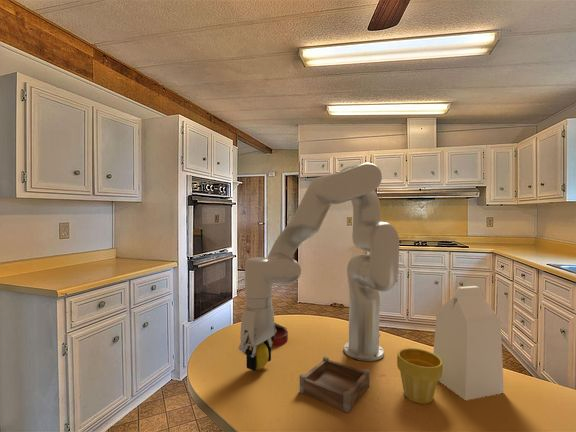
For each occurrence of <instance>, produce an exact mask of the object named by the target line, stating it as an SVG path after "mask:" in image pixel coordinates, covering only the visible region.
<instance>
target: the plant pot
mask: <svg viewBox="0 0 576 432" xmlns="http://www.w3.org/2000/svg"><path fill="white" fill-rule="evenodd" d="M396 363H397V364H396V365H397V369H398V370H399V372H400V377H401V384H402V390H403V394H404V395H405V397H406V398H407V399H408V400H410V401H413V402H414V403H418V404H429V403H431V402H432V401H433V400H434V397H435V392H436V388H437V385H438V382H439V381H438V379H440V378H441V376H442V368H443V362H442V360H441V359H440V358H439V357H438V356H437V355H435V354H433V352H432V351H429V350H426V349H421V348H416V347H407V348H406V347H405V348H402V349H400V350H399V351H398V352H397V357H396Z"/></svg>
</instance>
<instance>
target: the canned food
mask: <svg viewBox="0 0 576 432" xmlns="http://www.w3.org/2000/svg"><path fill="white" fill-rule="evenodd" d="M274 327H275V328H276V330H277V331H276V333H275V335H274V339H273V341H272V347H279V346H282V345H283V346H284V345H285V344H287V343H288V341H289V340H288V339H289V338H288V337H289V336H288V335H289V331H288V328H287V327H285V326H283V325H281V324H278V323H276V322H274Z"/></svg>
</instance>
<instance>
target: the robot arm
mask: <svg viewBox="0 0 576 432" xmlns="http://www.w3.org/2000/svg"><path fill="white" fill-rule="evenodd" d="M382 179H383V174H382V171H381V169H380V168H379V166H378V165H376V164H374V163H372V162H365V163H359V164H354V165H349V166H347V167H343V168H342V169H341V170H339V172H338V171H337V172H336V173H332V174H331V173H330V174H328V175H322V176H318V177H316V178H314V179H312V181H311V182H310V183H309V185H308V187H307V189H306V191H305V193H304V194H303V197H302V199H301V201H300V203H299V205H298V207H297V209H296V211H295V213H294V214H293V217H292V219H291V220H290V221H289V222H288V224H286V226H285V228H284V229H283V230H282V232H281V233H280V234H279V235H278V236H277V238H276V240H275V241H274V243H273V245H272V247H271V249H270V251H269V253H268V256H267V257H262V256H257V257H256V256H255V257H249V258H247V259H246V261H245V263H244V292H245V293H244V294H245V295H244V303H245V307H244V308H243V310H242V315H241V320H240V321H241V322H240V343H239V345H238V350H240V351H241V352H242V353H243V354H244V355H245V356H246V368H247V369H248V370H251V371H253V372H255V371H257V370H258V369H257V360H256V356H255V352H256V347H257V345H258V344H260V343H264V344H265V345H266V346H267V348H268V352H269V358H268V362H271V361H272V348H273V346H272V341H273V339H274V335H275V333H276V331H277V330H276V328H275V327H274V323H275V313H274V307H273V298H272V297H273V292H272V291H273V289H272V288H273V284H278V285H279V284H281V285H289V284H293V283H295V282H297V280H299V278H300V277H301V273H302V269H301V266H300V264H299V262H298V261H297V260H296V259H294V258H293V257H294V254H295V252H296V251H297V249H298V247H300V245H301V244H303V242H305V241H306V240H308V239H310V238H312V237H313V236H314V235H316V234H317V233H318V231H320V228H321V226H322V224H323V222H324V220H325V218H326V216H327V214H328V212H329V210H330V208H331V206H332V205H339V204H343V203H346V202H349V201H351V204H352V233H351V234H352V236H351V237H352V242H353V245H354V246H355V247H356V248H358V249H360V250H362V251H366V252H369V254H366V253H359V254H356V255H354V256H352V257H351V258H350V259H349V261H348V263H347V267H346V274H347V282H348V290H349V291H348V292H349V300H348V301H349V304H348V305H349V306H348V341H347V342H346V343H345V344H343V351H344V353H345V354H346V355H347V356H348V357H350V358H351V359H354V360H359V361H362V362H363V361H364V362H373V361H374V362H375V361H379V360H381V359H382V358H383V357H384V356H385V350H384V348H383V347H382V346H380V337H381V334H380V314H381V313H380V310H381V309H380V306H381V300H380V299H381V297H380V292H387V291H390V290H392V289H393V288H394V287H395V285H396V283H397V281H398V278H399V277H398V276H399V266H400V265H399V263H400V237H399V233H398V231H397V230H396V228H395V227H394V226H393V225H392V223H389V222H386V221H385V222H384V221H381V219H382V217H381V202H380V199H379V196H378V194H377V192H376V190H377V189H378V188H379V186H380V185H381V183H382ZM251 347H252V351H251V350H250V349H251Z"/></svg>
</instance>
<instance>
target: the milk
mask: <svg viewBox="0 0 576 432" xmlns="http://www.w3.org/2000/svg"><path fill="white" fill-rule="evenodd" d="M501 324H502V322H501V320H500V317H499V315H498V314H497V313H496V312H495V311H494V309H493V308H492V307H491V305H490V304H489V303H488V302H487V300H485V298H484V297H483V294H482V291H481V287H480V286H477V285H468V286H457V288H456V290H455V292H454V295H453V297H451V299H449V300H448V301H447V302H445V303H444V304H443V305H441V306H439V308H438V309H437V310H436V316H435V329H434V342H433V352H432V353H433V354H435V355H437V356H438V357H439V358H440V359H441V360H442V362H443V368H442V376H441V378H440V379H438V382H439V383H440V384H442V385H443V384H444V385H443V386H445V387H446V386H447V387H446V388H447V389H449V390H450V391H451V392H453V393H454V394H456V395H457V396H458V395H459V396H458V397H460V398H461V399H463V400H464V401H465V400H466V401H471V400H475V399H476V400H477V399H480V398H481V397H482V398H486V397H485V396H487V397H491V395H492V396H497V395H501V393H503V394H504V391H505V390H504V367H503V366H504V365H503V347H502V346H503V343H502V341H503V340H502V325H501ZM496 394H497V395H496ZM470 399H471V400H470Z"/></svg>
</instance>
